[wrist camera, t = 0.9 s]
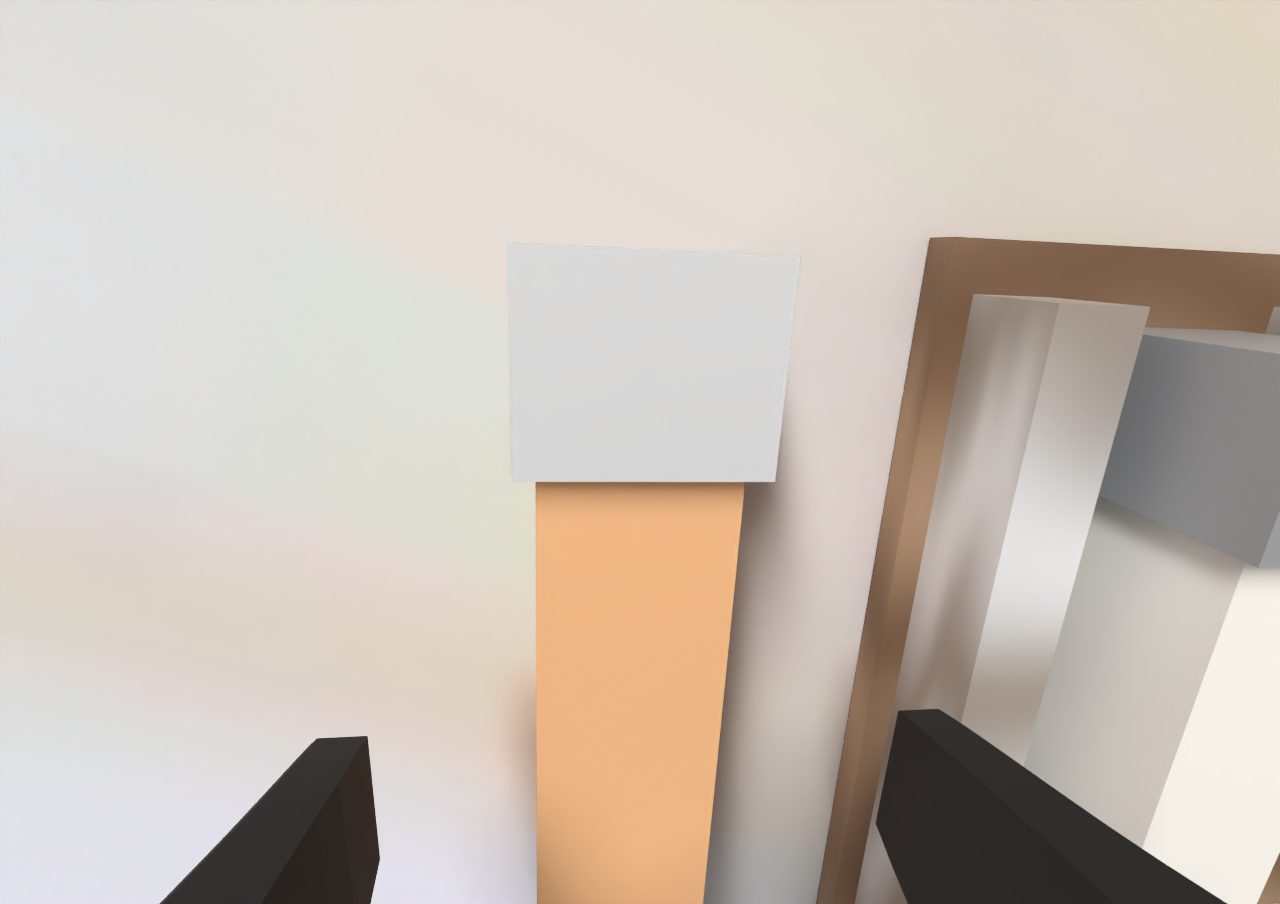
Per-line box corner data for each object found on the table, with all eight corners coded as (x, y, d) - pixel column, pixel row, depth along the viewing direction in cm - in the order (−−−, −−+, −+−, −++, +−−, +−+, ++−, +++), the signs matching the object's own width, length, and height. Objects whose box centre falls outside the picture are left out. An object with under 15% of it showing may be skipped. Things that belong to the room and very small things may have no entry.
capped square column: (673, 827, 16) (712, 1026, 12) (530, 837, 16) (520, 1047, 12) (718, 253, 12) (800, 256, 8) (525, 245, 12) (507, 242, 7)
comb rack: (1305, 872, 20) (1430, 976, 17) (813, 916, 18) (862, 1043, 15) (1585, 273, 14) (1835, 278, 12) (930, 237, 12) (1039, 234, 10)
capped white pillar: (1068, 856, 17) (1231, 1051, 13) (943, 866, 17) (1072, 1072, 12) (1235, 330, 13) (1556, 368, 9) (1076, 324, 13) (1334, 361, 8)
